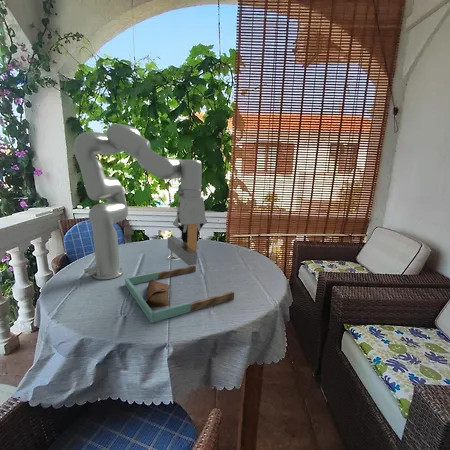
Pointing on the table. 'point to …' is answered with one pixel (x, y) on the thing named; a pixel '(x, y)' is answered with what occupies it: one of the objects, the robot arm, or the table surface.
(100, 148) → the robot arm
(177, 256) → the white looped piece
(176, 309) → the tray
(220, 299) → the channel
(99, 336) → the table surface
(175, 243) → the plank and post
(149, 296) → the sunglasses case
